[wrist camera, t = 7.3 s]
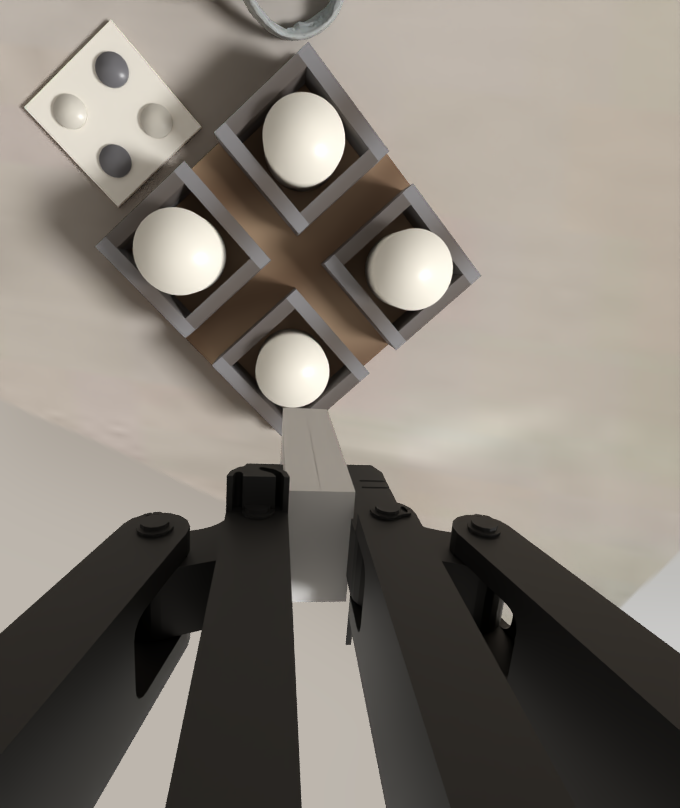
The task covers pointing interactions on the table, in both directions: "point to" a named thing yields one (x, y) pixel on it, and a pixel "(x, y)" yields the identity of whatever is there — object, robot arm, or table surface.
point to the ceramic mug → (300, 28)
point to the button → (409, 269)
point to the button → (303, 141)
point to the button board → (291, 246)
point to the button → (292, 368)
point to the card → (113, 114)
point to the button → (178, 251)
